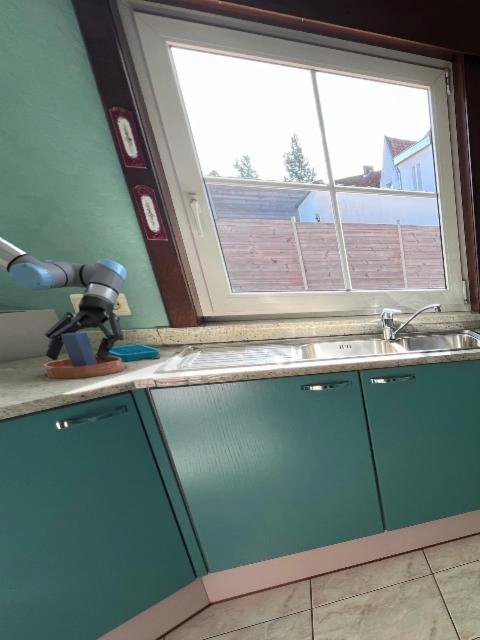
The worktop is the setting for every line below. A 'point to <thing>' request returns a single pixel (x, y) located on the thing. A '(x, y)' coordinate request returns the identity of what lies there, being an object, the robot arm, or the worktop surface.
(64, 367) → the bowl
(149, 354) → the ice cube tray
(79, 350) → the block
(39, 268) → the robot arm
